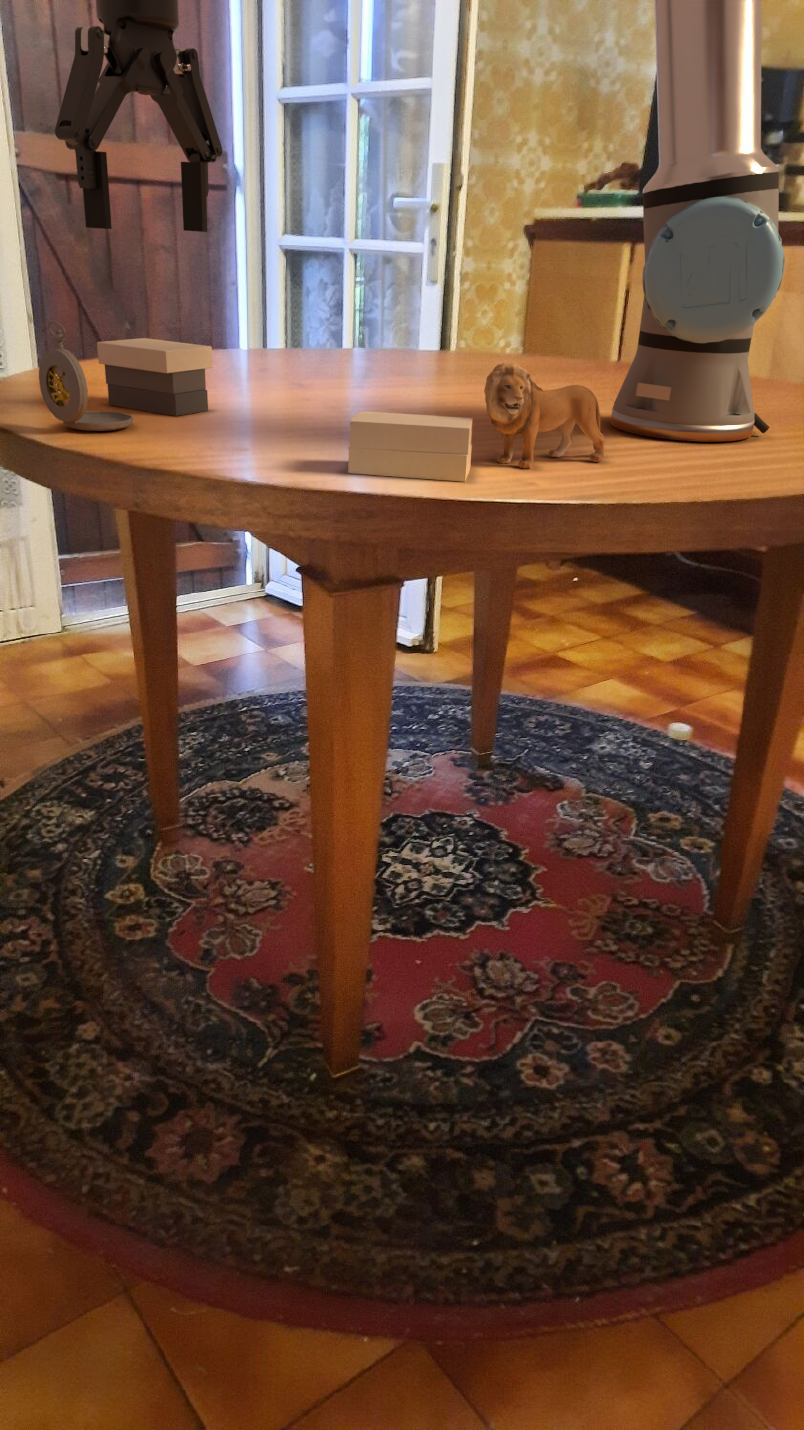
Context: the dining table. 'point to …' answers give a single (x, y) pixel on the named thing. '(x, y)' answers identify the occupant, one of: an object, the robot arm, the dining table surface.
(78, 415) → the pocket watch
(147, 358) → the beige flat block
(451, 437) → the beige cardboard block
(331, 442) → the dining table surface
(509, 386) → the lion figurine
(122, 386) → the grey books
